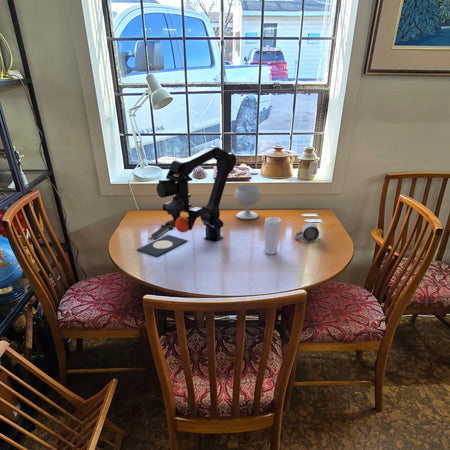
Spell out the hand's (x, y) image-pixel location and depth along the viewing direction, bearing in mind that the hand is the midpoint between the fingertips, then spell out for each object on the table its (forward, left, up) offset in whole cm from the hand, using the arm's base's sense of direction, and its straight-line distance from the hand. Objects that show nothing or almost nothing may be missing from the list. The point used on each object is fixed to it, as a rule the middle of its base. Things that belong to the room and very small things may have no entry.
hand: (184, 228), depth 161 cm
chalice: (-1, -51, -10) cm, 52 cm away
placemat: (+10, +4, -10) cm, 15 cm away
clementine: (0, 0, -2) cm, 2 cm away
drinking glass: (-34, -18, -10) cm, 40 cm away
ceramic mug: (-41, -40, -10) cm, 58 cm away
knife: (+22, -10, -10) cm, 26 cm away
